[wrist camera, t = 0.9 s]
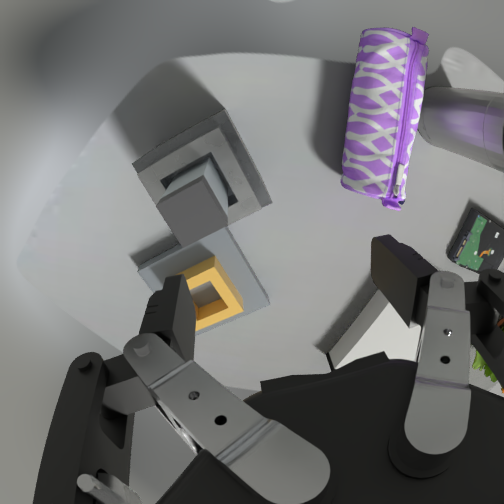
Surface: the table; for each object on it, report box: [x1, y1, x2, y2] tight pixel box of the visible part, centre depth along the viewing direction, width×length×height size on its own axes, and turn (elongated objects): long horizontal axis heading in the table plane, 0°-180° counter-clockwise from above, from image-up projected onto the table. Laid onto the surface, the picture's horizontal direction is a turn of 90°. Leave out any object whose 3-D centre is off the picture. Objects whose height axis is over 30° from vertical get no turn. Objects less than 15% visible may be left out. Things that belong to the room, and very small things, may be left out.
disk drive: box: [448, 208, 504, 274], centre depth 46 cm, size 10×3×15 cm
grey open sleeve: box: [132, 109, 272, 225], centre depth 32 cm, size 10×10×13 cm
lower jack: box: [137, 226, 270, 336], centre depth 43 cm, size 14×14×5 cm
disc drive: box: [326, 289, 421, 371], centre depth 51 cm, size 18×22×5 cm
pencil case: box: [341, 27, 429, 211], centre depth 31 cm, size 22×9×10 cm, turn 177°
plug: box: [156, 157, 228, 248], centre depth 25 cm, size 4×4×9 cm
